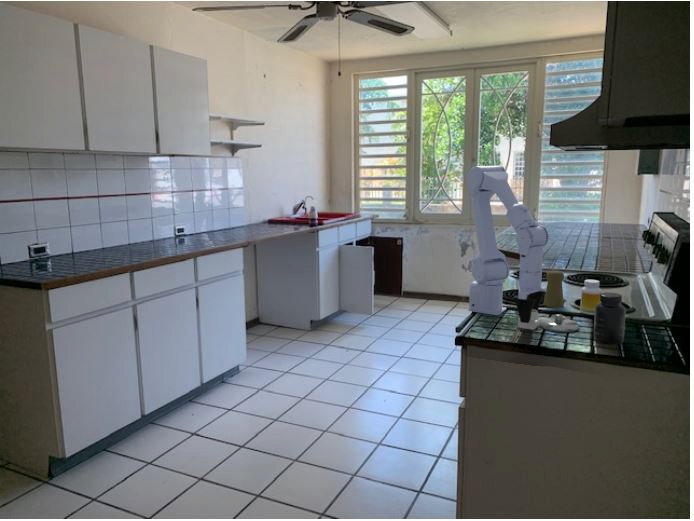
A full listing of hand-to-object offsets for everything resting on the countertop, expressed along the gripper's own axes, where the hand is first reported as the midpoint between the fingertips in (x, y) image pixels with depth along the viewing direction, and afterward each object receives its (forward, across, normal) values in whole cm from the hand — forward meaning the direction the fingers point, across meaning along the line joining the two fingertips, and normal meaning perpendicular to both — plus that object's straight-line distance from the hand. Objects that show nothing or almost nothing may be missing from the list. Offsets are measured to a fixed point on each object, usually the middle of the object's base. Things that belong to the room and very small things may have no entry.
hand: (528, 318), depth 138 cm
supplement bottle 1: (+2, +22, -12) cm, 25 cm away
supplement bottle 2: (+3, -1, -20) cm, 20 cm away
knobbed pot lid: (+2, +4, -7) cm, 8 cm away
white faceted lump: (+2, 0, 0) cm, 2 cm away
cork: (+2, +25, -1) cm, 25 cm away
